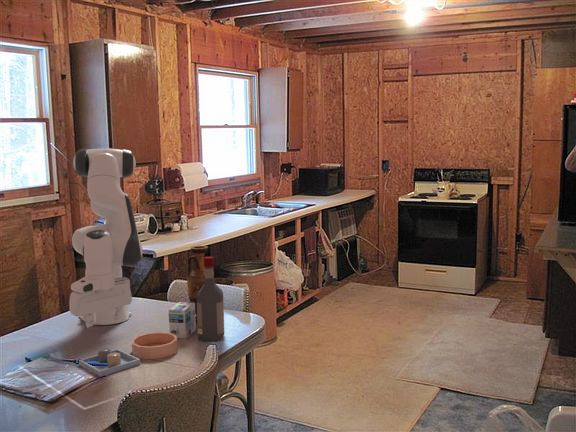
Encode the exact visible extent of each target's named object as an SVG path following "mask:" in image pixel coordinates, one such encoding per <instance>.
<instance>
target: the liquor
mask: <svg viewBox="0 0 576 432" xmlns="http://www.w3.org/2000/svg"><path fill="white" fill-rule="evenodd" d="M214 266H215V258H214V256H212V255H211V256H204V268H205V282H204V285H203V286H202V288H201V289H200V290H199V292H198V294H197V298H196V299H197V324H196V326H197V339H198V341H200V342H202V343H218V342H221V341H223V340H224V336H225V312H224V311H225V310H224V308H225V306H224V291H223V290H222V289H221V288H220V287H219V286H218V284H216V281H215V271H214Z"/></svg>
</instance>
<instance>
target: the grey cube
mask: <svg viewBox="0 0 576 432" xmlns="http://www.w3.org/2000/svg"><path fill="white" fill-rule="evenodd" d="M111 349H112V348H109V347H104V348H99V349H98V350H97V355H98V360H99V362H100V363H108V361H107V355H108V354H110V353H111V351H112V350H111Z"/></svg>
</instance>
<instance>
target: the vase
mask: <svg viewBox="0 0 576 432" xmlns="http://www.w3.org/2000/svg"><path fill="white" fill-rule="evenodd" d="M208 250H209V246H206V245H196V246H191V247H190V251H191V252H192V253H193V254H194V255H190V256H189V258H188V260H187V272H186V273H185V274H186V276H185V277H186V284H187V295H188V298H189V299H188V300H189V303H195V319H196V325H197V299H196V298H197V294H198V292H199V290H200V289H201V288H202V286H203V285H204V282H205V267H204V257H205V254H206V253H207V252H208ZM192 260H193V261H194V268H193V269H194V270H193V269H192Z"/></svg>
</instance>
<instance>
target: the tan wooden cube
mask: <svg viewBox="0 0 576 432" xmlns="http://www.w3.org/2000/svg"><path fill="white" fill-rule="evenodd" d="M107 361H108V368H111V367H114V366H117V365H120V364H121V359H120V353H110V354H108V355H107Z"/></svg>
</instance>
